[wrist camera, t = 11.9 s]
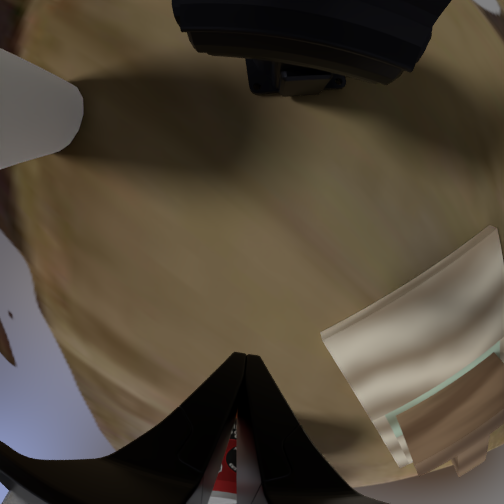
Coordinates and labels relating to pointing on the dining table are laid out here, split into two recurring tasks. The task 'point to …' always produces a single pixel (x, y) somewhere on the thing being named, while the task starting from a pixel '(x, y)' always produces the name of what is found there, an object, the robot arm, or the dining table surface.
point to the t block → (457, 420)
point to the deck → (423, 335)
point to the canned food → (227, 474)
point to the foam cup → (34, 111)
